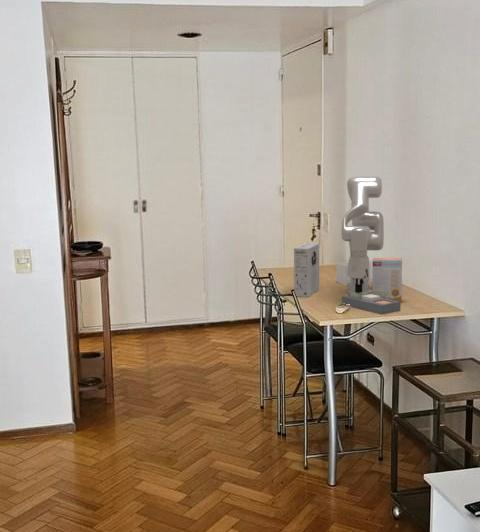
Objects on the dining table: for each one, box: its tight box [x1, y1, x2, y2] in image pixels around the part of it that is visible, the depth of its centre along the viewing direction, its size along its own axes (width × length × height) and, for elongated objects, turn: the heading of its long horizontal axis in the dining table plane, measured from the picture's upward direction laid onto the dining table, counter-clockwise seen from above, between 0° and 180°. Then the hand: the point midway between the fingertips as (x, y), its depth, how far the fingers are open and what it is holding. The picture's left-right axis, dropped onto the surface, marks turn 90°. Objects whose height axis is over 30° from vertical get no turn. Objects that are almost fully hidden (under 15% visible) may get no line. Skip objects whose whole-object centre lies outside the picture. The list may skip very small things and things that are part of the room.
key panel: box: [341, 294, 402, 315], centre depth 325 cm, size 26×12×4 cm, turn 35°
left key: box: [349, 292, 368, 298], centre depth 331 cm, size 6×6×2 cm
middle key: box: [362, 293, 380, 301], centre depth 325 cm, size 6×6×2 cm
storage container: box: [336, 259, 373, 286], centre depth 386 cm, size 25×11×11 cm, turn 111°
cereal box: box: [293, 242, 320, 298], centre depth 359 cm, size 22×8×25 cm, turn 159°
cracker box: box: [371, 257, 403, 303], centre depth 337 cm, size 14×6×21 cm, turn 77°
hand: (358, 292), depth 331 cm, fingers closed
